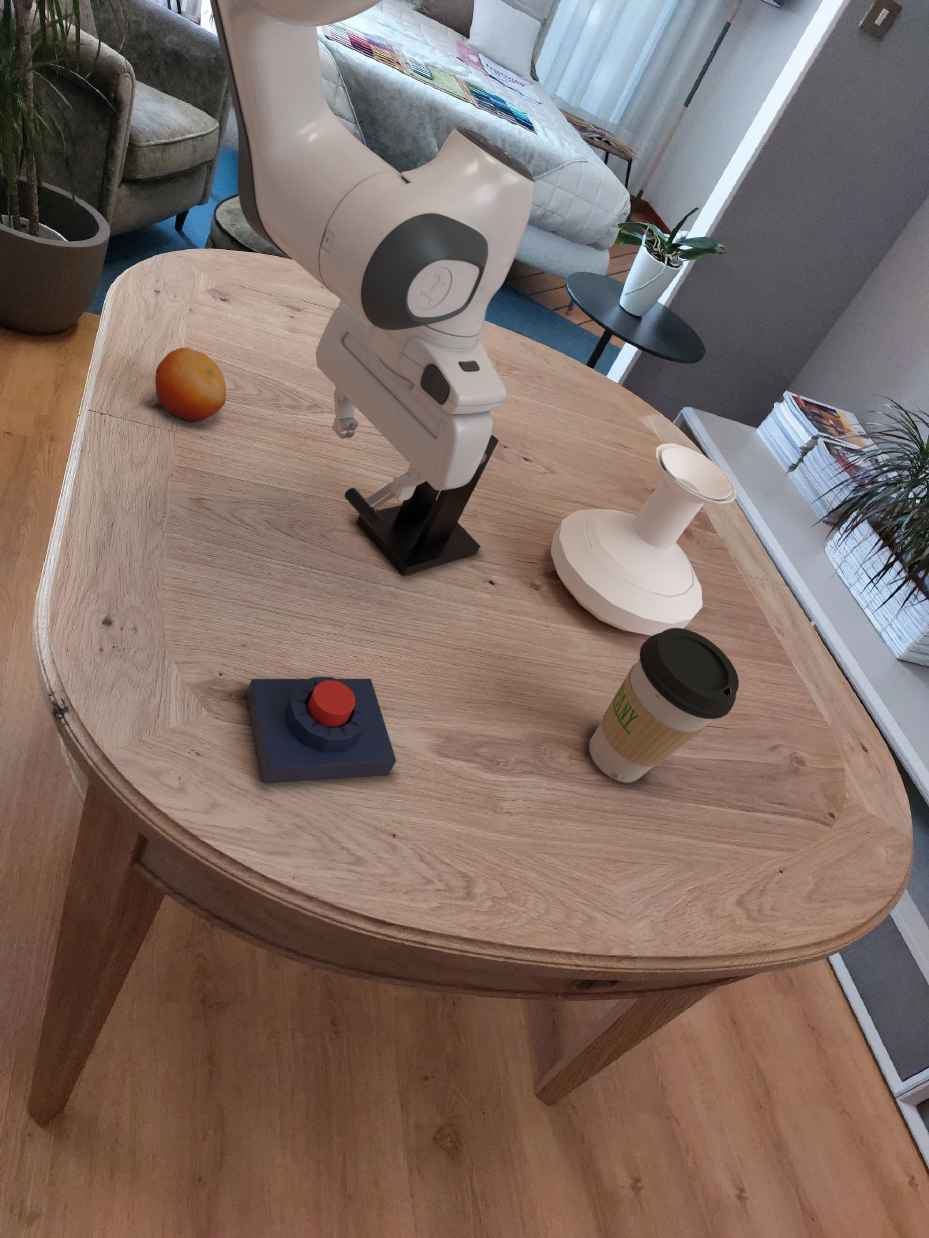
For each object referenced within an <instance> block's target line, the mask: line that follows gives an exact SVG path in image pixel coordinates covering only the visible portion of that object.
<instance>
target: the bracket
mask: <svg viewBox="0 0 929 1238" xmlns="http://www.w3.org/2000/svg"><path fill="white" fill-rule="evenodd" d="M498 443H499V439H498V438H497V437H496V436H495V435H494V434H491V436H490V439H489V442H488V445H487V447H486V450H485V452H484V455H483V457H482V459H481V461H480V463H479V466H478V468H477V470H476V472H475V474H474V475H473V477H472V479H471V480H470V481H469V482H468V483H467V484H466V485H463V486H461V487H458V488H454V489H448V490H440V491H439V490H435V489H434V488H433V487H432V486H431V485H430V484H429V483H428V482H427V481H425V482H423V483H421V484H420V485H417V486H416V488H415V490H414V492H413V494H412V496H411V497H410V498H409V499H408V500H403V501H402V503H401V504H400V505H396V506H391V507H386V508H383V509H377V510H375V511H376V512H377V513H378V514H379V515H380V516H381V517H382V518H383V520H384V524H383V525H382V526H381V527H380V528H379V529H377V530H374V529H372V527H371V526H370V525H369V524H368V523H367V522H366V521H365V520H364V519H363V517H362V516H361V515H360V514H358V516H357V519H356V522H355V523H356V525H357V526H358V527H359V528H360V530H362V532H363V533H364V534H365V535H366V537H368V539H370V540H371V542H372V543H373V544H374V545H375V546H376V547H377V549H378V550H379V551H380V552H381V553H382V554H383V555H384V557H385V558H386V559H387V560H388V561H389V562H390V563H391V564H392V565H393V566H394V568H395V569H396V570H397V571H398V572H399V573H400V574H401V575H402V577H405V576H408V575H412V574H415V573H418V572H419V573H420V572H421V571H426V570H428V569H432V568H434V567H438V566H441V565H444V564H445V565H446V564H448V563H451V562H454V561H458V560H460V559H464V558H466V557H470V556H473V555H477V554H478V552H479V550H480V549H481V545H480V544H479V543H478V542H477V540H475V539H474V538H473V536H472V535H471V534H470V533H469V532H467V530H466V528H464V527H463V526H462V525H461V524H460V523H459V521H460V519H461V516H462V514H463V513H464V510H465V508H466V506H467V504H468V502H469V501H470V498H471V496H472V495H473V492H474V490H475V488H476V486H477V484H478V483H479V481H480V478H481V477H482V475H483V472H484V471H485V469H486V467H487V465H488V463H489V461H490V459H491V457H492V455H493V454H494V451H495V449H496V447H497V445H498Z"/></svg>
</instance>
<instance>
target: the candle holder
mask: <svg viewBox="0 0 929 1238" xmlns="http://www.w3.org/2000/svg"><path fill="white" fill-rule="evenodd" d="M655 457H656V460H657V462H658V465H659V467H660V470H661V472H662V475H663V477H662V478H661V479H660V481H659V483H658V484H657V485H656V487H655V488H654V490H653V491H652V492H651V494H650V496H649V497H648V498H647V500H646V501H645V503H644V504H643V506H642V507H641V509H640V510H639V511H638V513H637V515H636V514H632V513H629V512H625V511H620V510H616V509H606V508H605V509H604V508H590V509H589V508H588V509H582V510H581V509H580V510H575V511H573V512H572V513H571V514H569V515H568V516H567V517H565V518H563V519H561V521H560V523H559V524H558V526H557V527H556V529H555V531H554V533H553V535H552V541H551V547H550V554H551V559H552V561H553V564H554V567H555V570H556V574H557V576H558V577H559V579H560V580H561V582H562V583H563V585H564V587H565V588H566V589H567V591H568V592H569V593H570V594H571V595H572V597H573V598H574V599H575V600H576V601H577V603H578V604H579V605H580V606H581V607H582V608H584V609H585V610H586V611H588V612H589V613H590V614H591V615H593V616H594V617H595V618H596V619H597V620H599V621H601V622H603V623H605V624H607V625H610V626H612V627H614V628H616V629H618V630H621V631H625V632H630V633H635V634H641V635H647V636H650V637H651V636H653V635H655V634H658V633H661V632H663V631H664V630H667V629H669V628H683V629H686V627H687V626H688V625H689V623H690V622H691V621H692V620H693V619H694V617H695V616H696V615H697V614H698V613H699V611H700V610H701V609H702V608H703V605H704V604H703V591H702V586H701V583H700V581H699V580H698V577H697V575H696V573H695V571H694V568H693V565H692V564H691V562H690V560H689V558H688V556H687V554H686V553H685V551H684V550H683V549H682V548H681V547H680V546H679V544H678V543H677V541H678V539H679V538H680V537H681V535H682V534H683V533H684V531H685V530H686V529H687V528H688V526H689V524H691V522H692V521H693V520H694V518H695V516H696V515H697V514H698V513H699V512H700V510H701V509H702V508H703V506H704V505H706V504H712V505H713V504H715V505H716V504H717V505H722V504H730V503H733V502H734V500H736V499H737V498H738V497H737V490H736V489H737V488H736V487H735V485H734V483H733V481H732V480H731V478H730V477H729V476H728V474H727V473H725V472H724V470H722V468H720V467H719V466H718V465H717V464H716V463H715V462H714V461H712V460H710V459H709V458H708V457H706V456H705V455H704V454H701V453H700V452H698V451H696V450H694V449H692V448H691V447H687V446H683V445H681V444H677V443H675V442H672V443H671V442H670V443H661V444H660V445H658V446H656V447H655Z"/></svg>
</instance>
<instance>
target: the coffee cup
mask: <svg viewBox="0 0 929 1238" xmlns="http://www.w3.org/2000/svg"><path fill="white" fill-rule="evenodd" d="M739 686H740V681H739V675H738V673H737V670H736V668H735V666H734V663H732V661H731V659H730V658H729V657H728V656H727V654H726V653H724V652H723V651H722V649H721V648H720V647H718V646H717V645H716V644H715V643H713V642H712V641H711V640H710V639H709V638H707V637H705V636H703V635H701V634H700V633H698V632H695V631H693V630H690V629H686V628H684V629H683V628H669V629H667V630H664V631H663V632H661V633H658V634H655V635H653V636H651V635H650V637H648V638H647V639H646V640H645V641H644V642H643V643H642V645H641V647H640V649H639V658H638V660H637V662H636V663H634V664H633V665H632V666H631V668H630V670H629V672H628V673H627V675H626V676H625V678H624V680H623V682H622V683H621V685H620V686H619V689H618V690H617V692H616V693H615V695H614V697H613V698H612V699H611V702H610V704H609V705H608V707H607V708H606V710H605V712H604V714H603V716H602V718H601V721H600V722H599V725H598V727H597V728H596V730H595V732H594V733H593V734H592V736H591V738H590V740H589V742H588V743H589V744H588V749H589V754H590V757H591V759H592V761H593V763H594V764H595V765H596V767H597V768H598V770H600V771H601V772H602V773H603V774H604V775H606V776H607V777H609V778H611V779H613V780H615V781H616V782H617V781H618V782H621V783H632V782H635V781H637V780H639V779H640V778H641V777H642V776H644V775H646V773H648V772H649V771H650V770H651V769H653V768H654V767H655V766H658V765H660V764H661V763H663V762H664V761H665V760H666V759H668V758H669V757H671V756H672V755H673V754H674V753H676V752H677V751H678V750H679V749H681V748H682V747H683V746H684V745H686V744H687V743H688V742H689V741H691V740H692V739H693V738H695V737H696V736H697V735H698V734H699V733H702V731H704V730H705V729H706V728H707V726H709V723H711V722H712V721H714V720H716V719H717V720H718V719H722V718H723V717H725V716H727V715H728V714H729V713H730V711H731V710H732V708H733V707H734V705H735V702H736V700H737V699H736V698H737V693H738V690H739Z"/></svg>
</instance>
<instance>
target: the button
mask: <svg viewBox="0 0 929 1238" xmlns="http://www.w3.org/2000/svg"><path fill="white" fill-rule="evenodd" d="M354 706H355V696H354V694H353V692H352V691H351V690H350V688H349V687H347V686H346V685H344V684H343V683H341V682H338V681H333V680H327V681H323V682H321V683H319V684H318V685H317V686H316V687H315V688H314V691H313V693H312V695H311V697H310V700H309V702H308V711H309V713H310V715H311V717H312V718H313V719H314V720H315V721H316V722H318V723H319V724H321V725H324V726H327V727H338V726H341V725H343V724H344V723H345V722H346V721H347V720H348V718H349V716H350V714H351V712H352V710H353V708H354Z"/></svg>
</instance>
